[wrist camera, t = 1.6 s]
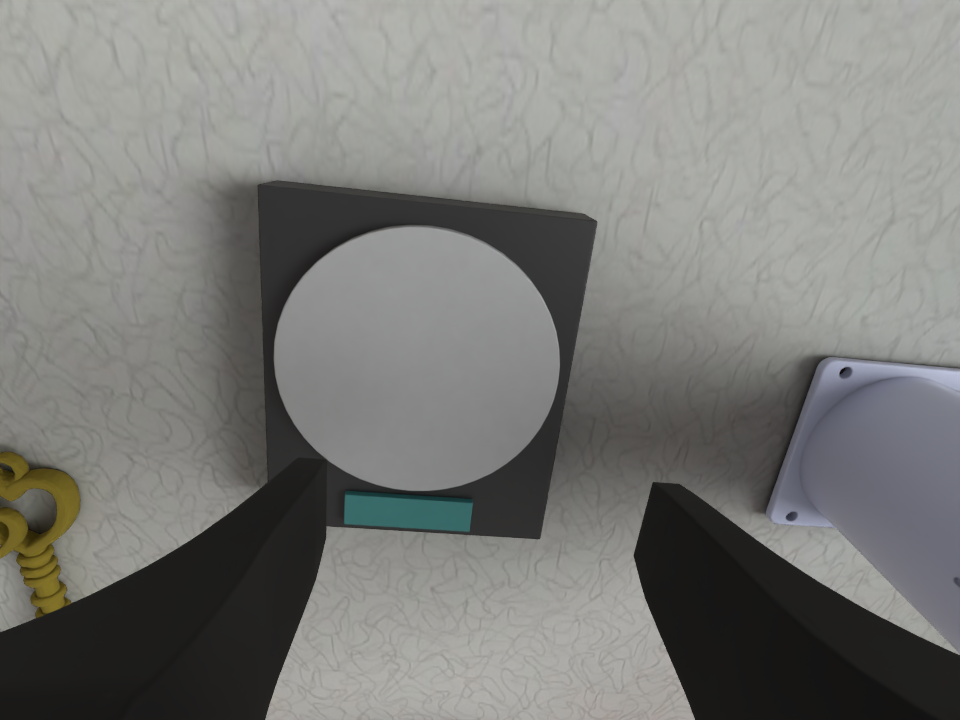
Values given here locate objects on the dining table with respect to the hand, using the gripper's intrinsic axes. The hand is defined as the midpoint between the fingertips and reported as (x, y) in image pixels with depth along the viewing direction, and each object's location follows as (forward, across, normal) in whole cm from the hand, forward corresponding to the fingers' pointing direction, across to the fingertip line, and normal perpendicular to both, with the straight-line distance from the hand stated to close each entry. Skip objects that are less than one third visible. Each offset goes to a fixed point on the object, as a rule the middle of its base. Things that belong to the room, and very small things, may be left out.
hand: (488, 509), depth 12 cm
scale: (+10, +2, +1) cm, 11 cm away
